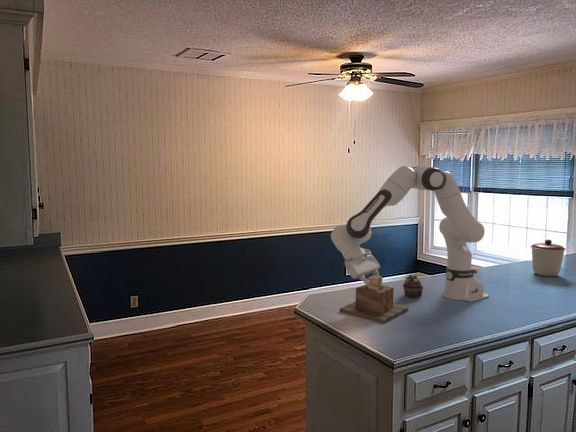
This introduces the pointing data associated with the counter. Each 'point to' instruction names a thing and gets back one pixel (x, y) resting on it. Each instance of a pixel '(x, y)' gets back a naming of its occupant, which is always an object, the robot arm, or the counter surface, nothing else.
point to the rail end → (375, 282)
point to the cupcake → (412, 287)
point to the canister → (547, 258)
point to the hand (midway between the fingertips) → (374, 281)
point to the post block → (374, 304)
